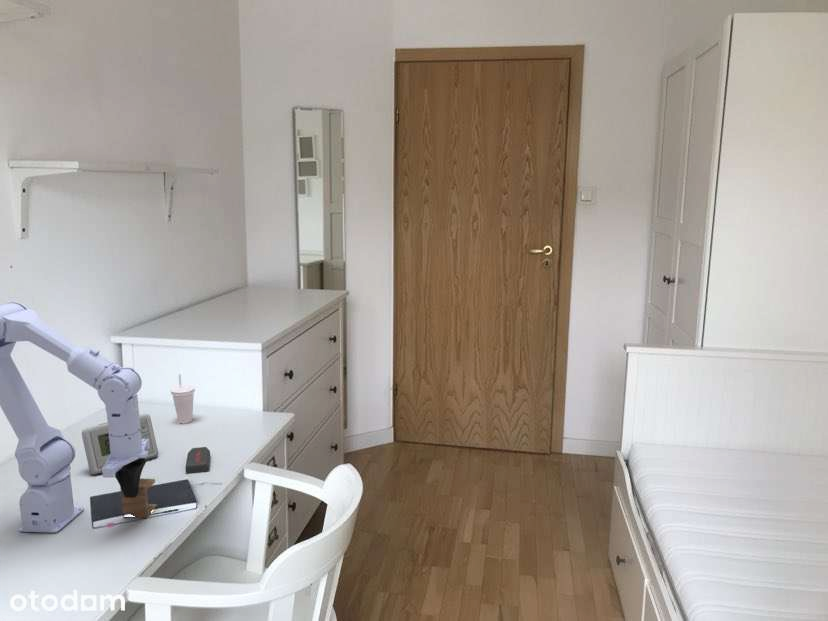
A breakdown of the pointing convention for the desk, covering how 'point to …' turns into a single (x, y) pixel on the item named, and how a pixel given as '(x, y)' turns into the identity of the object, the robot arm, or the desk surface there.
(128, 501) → the open wooden box
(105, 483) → the desk surface
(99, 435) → the digital clock
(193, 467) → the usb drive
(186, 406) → the smoothie
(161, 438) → the desk surface
